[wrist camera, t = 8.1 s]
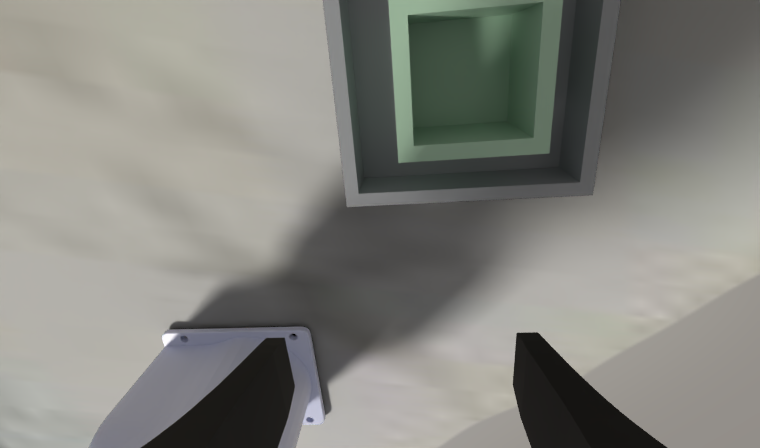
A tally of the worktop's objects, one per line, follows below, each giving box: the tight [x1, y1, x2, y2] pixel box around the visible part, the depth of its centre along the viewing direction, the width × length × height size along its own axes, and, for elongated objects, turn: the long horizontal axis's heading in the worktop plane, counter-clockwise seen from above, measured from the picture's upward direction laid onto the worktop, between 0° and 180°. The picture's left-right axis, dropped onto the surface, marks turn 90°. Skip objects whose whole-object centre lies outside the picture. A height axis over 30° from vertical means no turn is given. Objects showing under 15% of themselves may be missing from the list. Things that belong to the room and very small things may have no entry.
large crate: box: [323, 0, 621, 207], centre depth 17 cm, size 11×11×3 cm
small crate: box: [388, 0, 563, 163], centre depth 15 cm, size 6×6×4 cm
